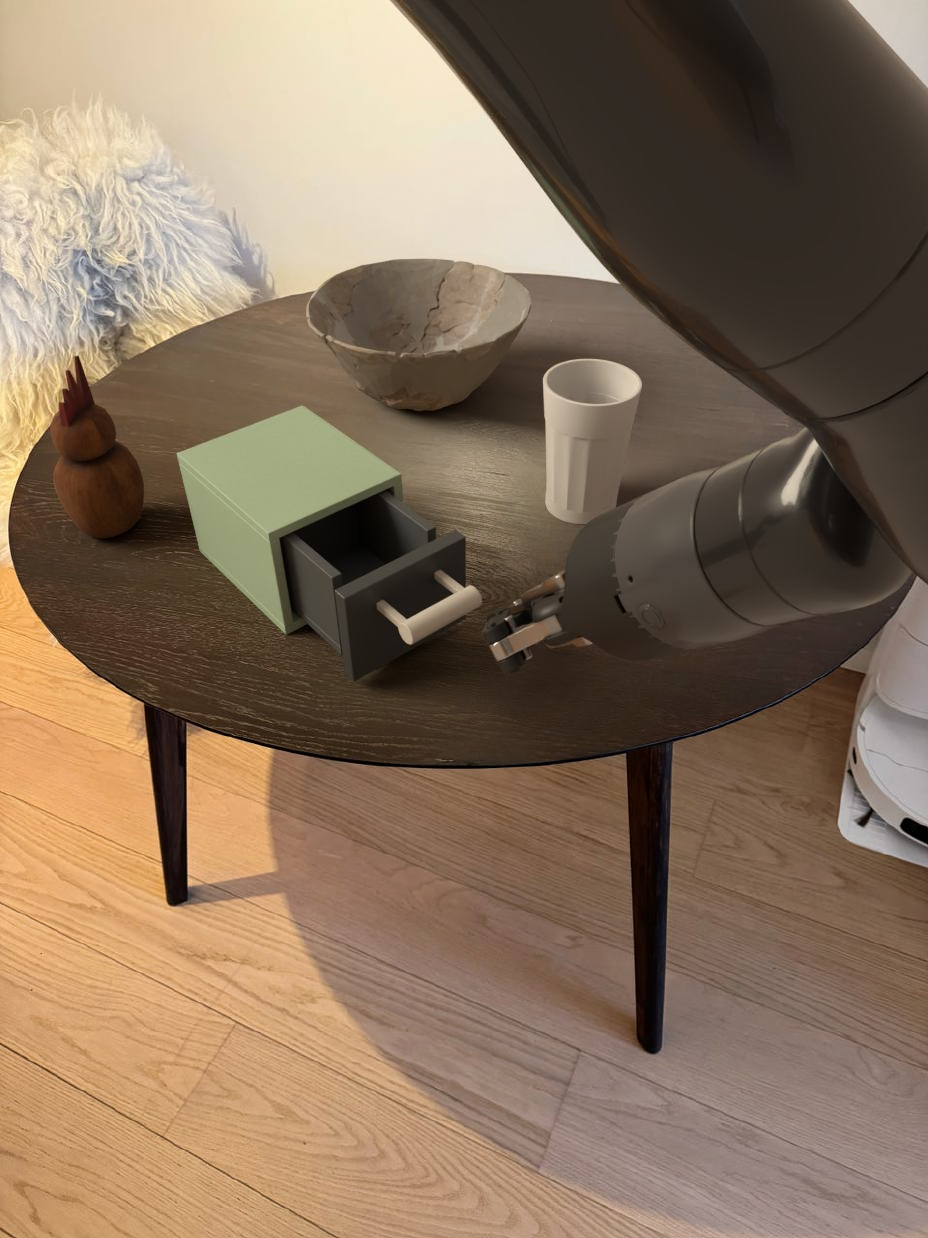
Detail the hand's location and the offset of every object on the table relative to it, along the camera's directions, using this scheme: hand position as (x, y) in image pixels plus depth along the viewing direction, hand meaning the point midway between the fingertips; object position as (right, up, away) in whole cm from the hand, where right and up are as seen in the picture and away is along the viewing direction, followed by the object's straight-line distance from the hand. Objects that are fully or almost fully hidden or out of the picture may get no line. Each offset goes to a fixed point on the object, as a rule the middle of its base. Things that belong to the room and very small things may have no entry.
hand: (500, 627), depth 58 cm
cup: (+8, +11, +27) cm, 30 cm away
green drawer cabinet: (-16, +5, +20) cm, 26 cm away
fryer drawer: (-9, 0, +14) cm, 16 cm away
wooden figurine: (-33, +9, +24) cm, 42 cm away
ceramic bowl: (-7, +25, +42) cm, 49 cm away
